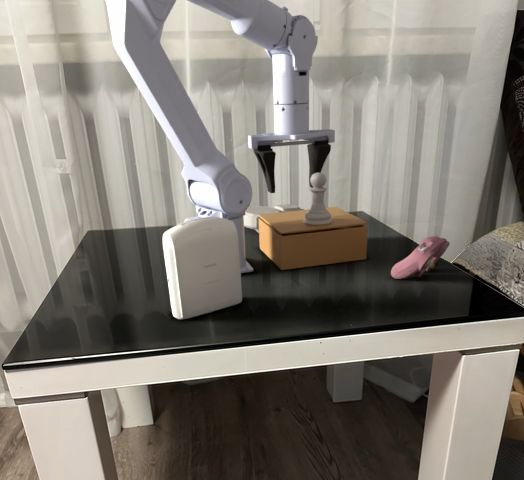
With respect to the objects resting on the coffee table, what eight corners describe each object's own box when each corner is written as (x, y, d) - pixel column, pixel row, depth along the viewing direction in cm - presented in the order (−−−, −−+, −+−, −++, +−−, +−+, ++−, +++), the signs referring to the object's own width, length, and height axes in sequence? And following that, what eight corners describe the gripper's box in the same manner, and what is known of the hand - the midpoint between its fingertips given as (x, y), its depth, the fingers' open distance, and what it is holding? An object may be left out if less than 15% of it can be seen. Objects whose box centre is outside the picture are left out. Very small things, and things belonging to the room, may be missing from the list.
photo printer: (180, 323, 70) (169, 229, 65) (166, 313, 74) (155, 222, 68) (247, 304, 75) (242, 215, 69) (231, 295, 78) (226, 209, 73)
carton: (281, 270, 88) (280, 232, 85) (259, 248, 99) (258, 214, 96) (366, 259, 91) (368, 222, 88) (335, 239, 102) (336, 206, 99)
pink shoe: (410, 293, 81) (435, 256, 76) (386, 275, 82) (409, 237, 77) (435, 274, 88) (460, 239, 83) (413, 258, 89) (435, 222, 84)
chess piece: (324, 217, 92) (325, 168, 88) (337, 224, 88) (338, 173, 84) (298, 221, 91) (298, 171, 87) (310, 227, 87) (311, 175, 83)
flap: (269, 225, 91) (269, 223, 90) (258, 216, 96) (258, 214, 96) (350, 216, 94) (351, 214, 94) (336, 208, 99) (336, 206, 99)
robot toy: (289, 221, 119) (227, 226, 113) (290, 200, 117) (227, 204, 111) (319, 233, 109) (253, 239, 103) (321, 210, 107) (253, 215, 101)
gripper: (254, 107, 82) (258, 198, 88) (343, 101, 85) (340, 190, 91) (243, 105, 88) (247, 190, 94) (326, 100, 91) (325, 183, 97)
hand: (292, 189), depth 93 cm, fingers open, 7 cm apart
